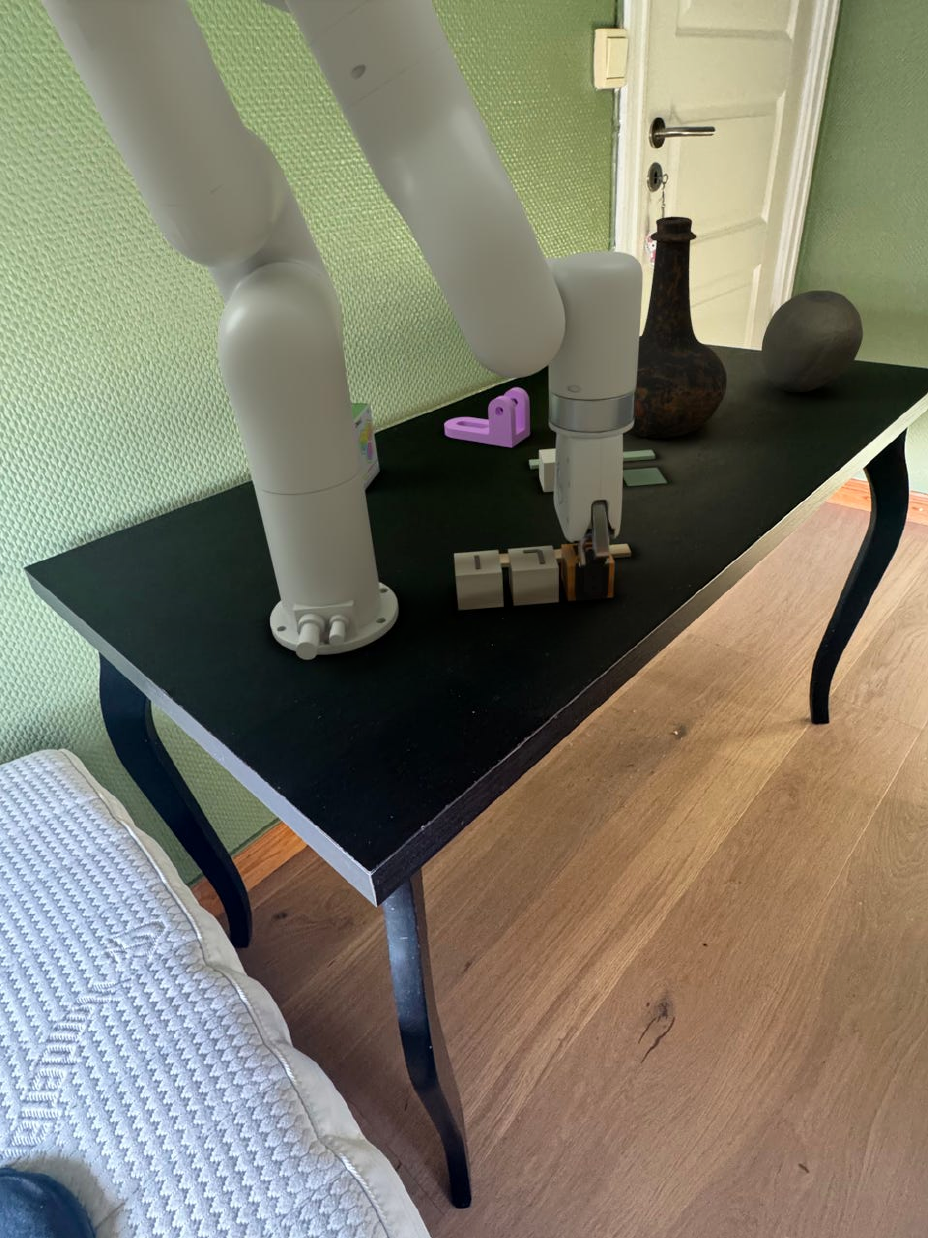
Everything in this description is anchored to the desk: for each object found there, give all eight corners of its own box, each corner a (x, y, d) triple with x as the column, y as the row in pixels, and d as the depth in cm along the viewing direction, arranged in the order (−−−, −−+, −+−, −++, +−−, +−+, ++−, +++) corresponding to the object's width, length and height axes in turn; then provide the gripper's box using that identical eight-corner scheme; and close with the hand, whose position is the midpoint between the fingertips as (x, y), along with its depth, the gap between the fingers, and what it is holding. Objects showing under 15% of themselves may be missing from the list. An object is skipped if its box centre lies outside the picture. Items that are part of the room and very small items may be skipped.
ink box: (365, 492, 101) (350, 392, 94) (337, 492, 102) (319, 392, 94) (380, 471, 107) (367, 375, 99) (353, 471, 107) (338, 375, 100)
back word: (670, 482, 97) (673, 452, 95) (538, 493, 97) (537, 463, 95) (651, 453, 105) (653, 424, 103) (529, 463, 105) (528, 435, 103)
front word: (648, 594, 76) (651, 558, 73) (458, 610, 76) (455, 574, 73) (626, 548, 84) (628, 514, 82) (455, 562, 84) (452, 529, 82)
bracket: (530, 434, 115) (529, 388, 111) (511, 447, 111) (510, 400, 107) (457, 423, 121) (454, 379, 117) (438, 435, 117) (434, 390, 113)
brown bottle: (679, 401, 123) (696, 204, 107) (747, 436, 108) (778, 215, 93) (577, 420, 119) (581, 218, 103) (634, 459, 104) (648, 232, 89)
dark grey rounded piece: (751, 402, 120) (766, 301, 111) (759, 376, 130) (773, 282, 122) (850, 408, 115) (873, 303, 106) (849, 380, 125) (870, 282, 117)
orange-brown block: (613, 597, 76) (614, 561, 73) (567, 601, 76) (568, 565, 73) (603, 574, 79) (605, 539, 77) (560, 578, 79) (561, 543, 77)
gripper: (537, 382, 74) (539, 548, 84) (564, 445, 60) (562, 634, 70) (613, 376, 74) (606, 542, 84) (658, 438, 60) (643, 628, 70)
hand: (586, 582), depth 77 cm, fingers closed on orange-brown block, 4 cm apart
